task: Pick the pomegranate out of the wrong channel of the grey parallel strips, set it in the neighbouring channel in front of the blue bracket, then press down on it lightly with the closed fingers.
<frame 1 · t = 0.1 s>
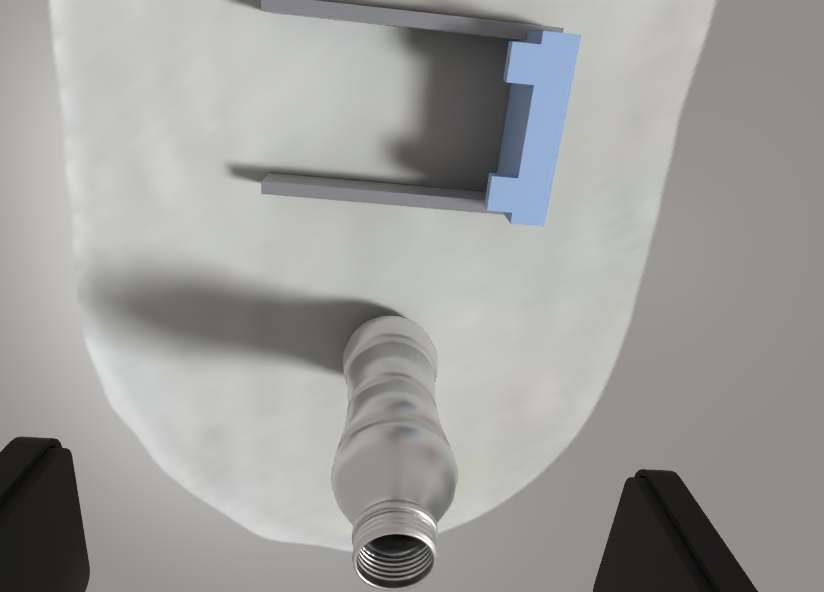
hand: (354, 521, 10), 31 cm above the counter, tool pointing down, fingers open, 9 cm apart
plastic bottle: (390, 343, 44), on the counter
blue bracket: (520, 121, 38), on the counter
grey parallel strips: (412, 20, 35), on the counter
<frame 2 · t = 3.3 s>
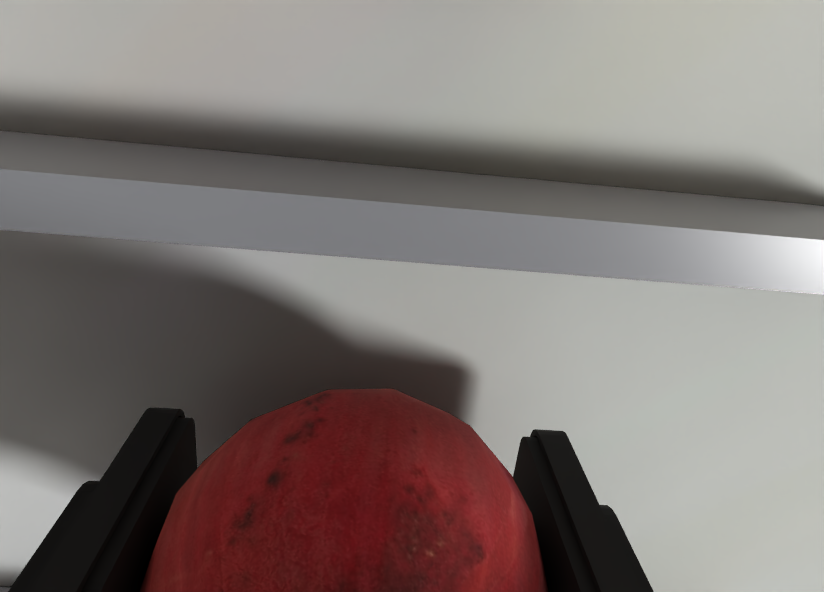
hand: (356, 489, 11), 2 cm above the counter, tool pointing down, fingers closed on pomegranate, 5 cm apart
pomegranate: (360, 430, 12), on the counter, touching gripper
when the fingers open (3 cm above the counter, at t = 9.3 s): pomegranate drops 1 cm, on the counter.
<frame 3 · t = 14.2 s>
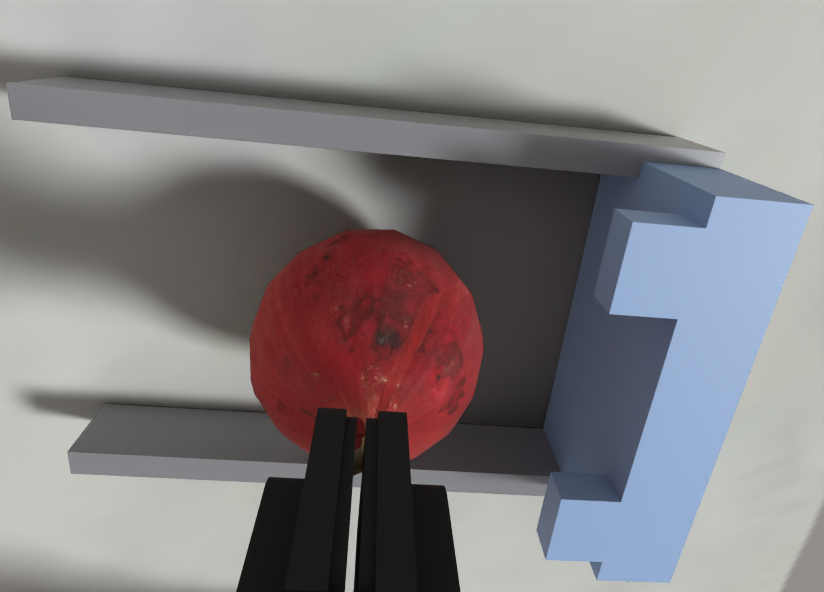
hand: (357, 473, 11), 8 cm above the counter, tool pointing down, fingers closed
blue bracket: (600, 309, 19), on the counter
grey parallel strips: (381, 122, 16), on the counter
pomegranate: (371, 284, 18), on the counter, touching gripper
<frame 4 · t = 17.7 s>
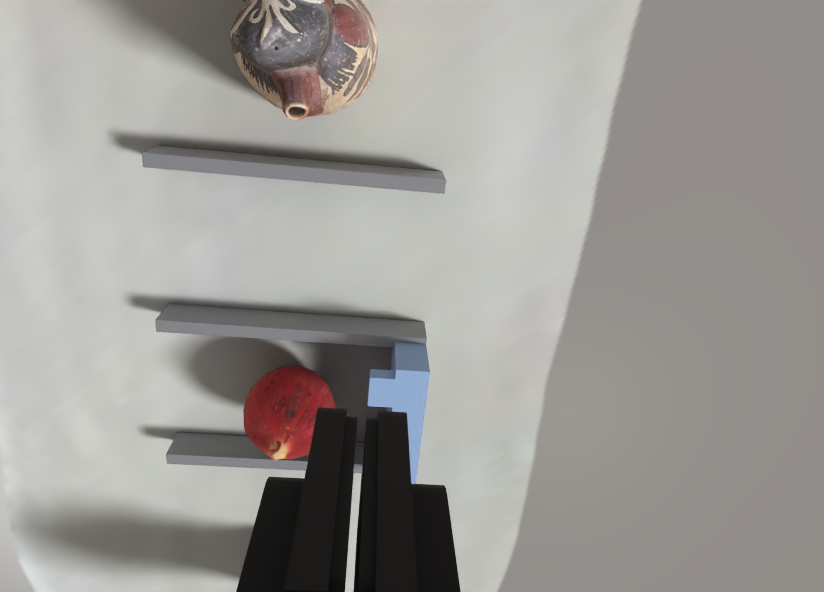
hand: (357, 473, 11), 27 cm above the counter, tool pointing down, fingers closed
blue bracket: (402, 390, 42), on the counter
painted ceramic spouted vessel: (315, 46, 33), on the counter
grey parallel strips: (298, 318, 40), on the counter
pomegranate: (298, 380, 42), on the counter
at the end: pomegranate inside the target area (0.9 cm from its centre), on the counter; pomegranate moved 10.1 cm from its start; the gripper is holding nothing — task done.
